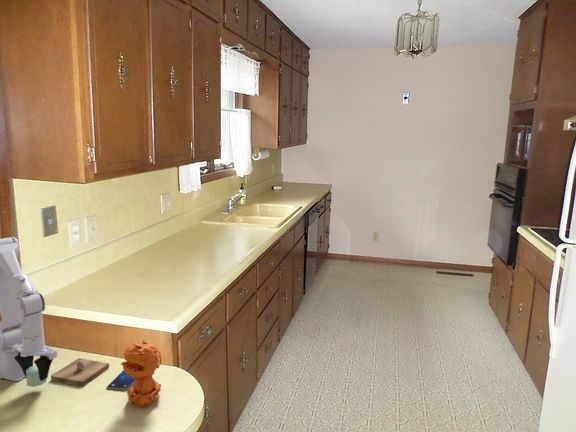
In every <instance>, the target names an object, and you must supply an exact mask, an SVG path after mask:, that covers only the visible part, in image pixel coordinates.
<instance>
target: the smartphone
mask: <svg viewBox="0 0 576 432" xmlns="http://www.w3.org/2000/svg"><path fill="white" fill-rule="evenodd" d="M135 380H136V379H133V378H132V377H131V376H128V375H127V374H126V372H125V371H124V369H123V370H122V371H121V372H120V373H119V374H118V375H117V376H115V378H114V379H113V380H112V381H110V383H109V384H108V385H107V386H106V390H109V391H119V392H127V390H129V389H130V388H131V387H132V386H133V385H134V382H135Z"/></svg>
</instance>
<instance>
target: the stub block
mask: <svg viewBox="0 0 576 432" xmlns="http://www.w3.org/2000/svg"><path fill="white" fill-rule="evenodd" d="M109 368H110V363H108V362H104V361H97V360H91V359H86V358H77V359H74V360H73V361H72V362H71V363H69V364H67V365H66V366H65V367H64V366H63V368H61V369H59V370H57V372H54V373H53V374H51V375H50V380H51V381H54V382H59V383H64V384H70V385H75V386H80V387H84V386H85V385H87V384H89V383H90V382H91V381H93V380H94V379H96V378H97V377H98V376H99V375H101V374H102V373H104V372H106V370H108V369H109Z"/></svg>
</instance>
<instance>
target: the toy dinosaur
mask: <svg viewBox="0 0 576 432" xmlns="http://www.w3.org/2000/svg"><path fill="white" fill-rule="evenodd" d="M132 344H133V345H131V346H129V347H127V348H126V349H125V350H124V352H123V355H124V360H125V361H122V362H120V366H122V369H123V370H124V371H125V372H126V374H127V375H128V376H131V377H132V378H133V379H136V380H135V382H134V385H133V386H132V387H131V388H130V389H129V390H127V391H126V396H127V402H129V403H130V405H132V403H133V404H134V405H135V406H138V405H139V407H144V406H148V405H151V404H152V403H153V402H155V399H156V397H158V398H160V395H159V394H160V393H159V392H161V388H162V385H161V384H162V383H158V382H157V381H156V380H155V378H154V377H153V376H154V374H155V372H156V370H157V369H159V368H160V366H161V365H162V356H161V355H162V354H161V352H160V351H159V349H158V348H157V347H156V346H155V345H154V344H152V343H148V342H145V341H144V340H142V343H135V342H133V343H132Z"/></svg>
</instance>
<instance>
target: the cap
mask: <svg viewBox="0 0 576 432" xmlns="http://www.w3.org/2000/svg"><path fill="white" fill-rule="evenodd" d="M25 378H26V386H28V387H31V388H33V387H39V386H42V385H44V384H45V383H47V380H48V379H47V378H46V379H44V380H43V381H41V380H40V378H39V372H38V368H37V366H36V364H35V365H34V364H33V366H31V367H29V368H28V369H27V370H26V377H25Z"/></svg>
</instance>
